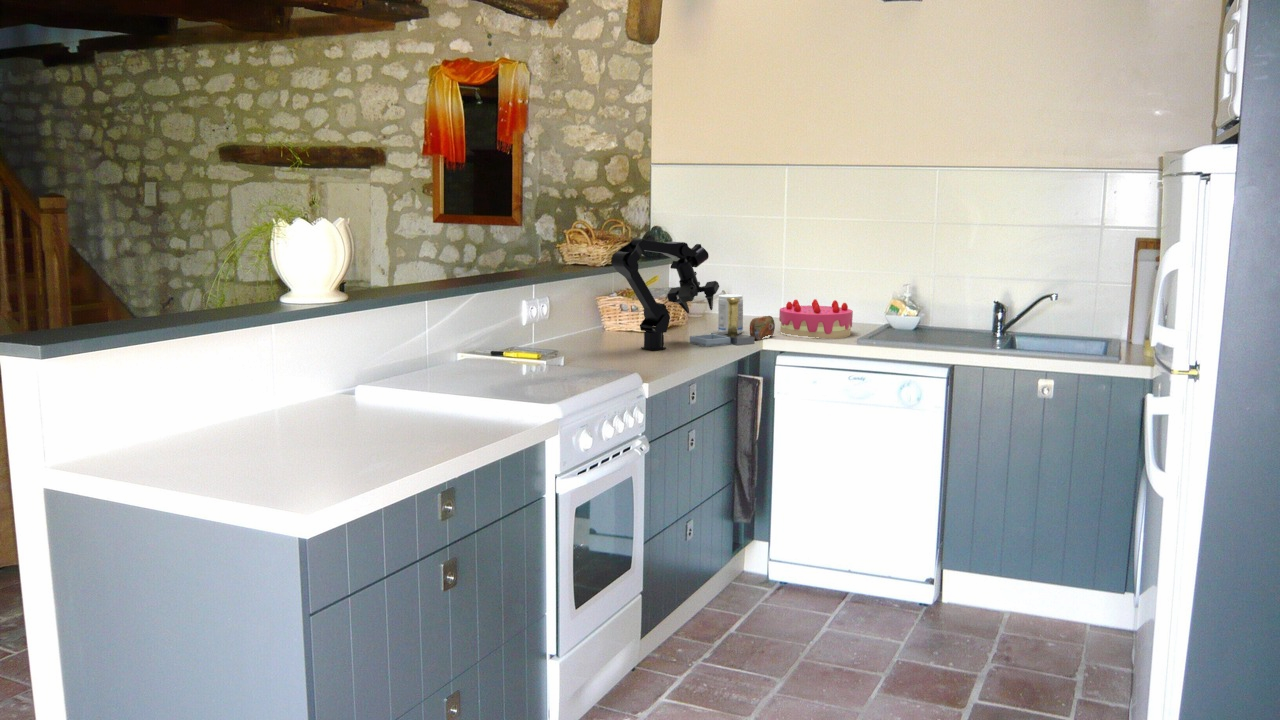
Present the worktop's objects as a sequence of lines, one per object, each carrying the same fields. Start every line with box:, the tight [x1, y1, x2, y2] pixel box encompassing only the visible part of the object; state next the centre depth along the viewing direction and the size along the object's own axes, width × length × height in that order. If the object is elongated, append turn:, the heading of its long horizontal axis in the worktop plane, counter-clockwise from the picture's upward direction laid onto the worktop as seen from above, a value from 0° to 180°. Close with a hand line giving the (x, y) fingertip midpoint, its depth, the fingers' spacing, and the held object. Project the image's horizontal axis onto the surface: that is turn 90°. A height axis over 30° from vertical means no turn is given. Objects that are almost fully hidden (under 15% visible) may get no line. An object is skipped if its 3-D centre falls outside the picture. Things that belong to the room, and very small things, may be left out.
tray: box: [689, 333, 731, 348], centre depth 364 cm, size 11×11×2 cm
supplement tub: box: [717, 293, 744, 334], centre depth 391 cm, size 10×10×15 cm
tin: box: [749, 315, 776, 341], centre depth 377 cm, size 15×3×8 cm, turn 143°
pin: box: [727, 298, 740, 336], centre depth 368 cm, size 5×5×16 cm
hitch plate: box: [710, 331, 756, 346], centre depth 369 cm, size 8×16×2 cm, turn 32°
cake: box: [778, 298, 854, 339], centre depth 390 cm, size 28×28×12 cm
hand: (700, 311), depth 364 cm, fingers open, 9 cm apart
